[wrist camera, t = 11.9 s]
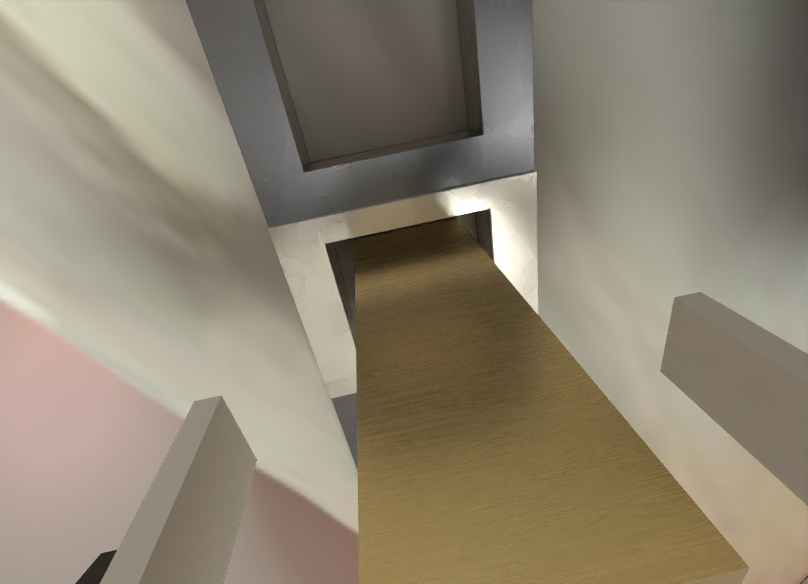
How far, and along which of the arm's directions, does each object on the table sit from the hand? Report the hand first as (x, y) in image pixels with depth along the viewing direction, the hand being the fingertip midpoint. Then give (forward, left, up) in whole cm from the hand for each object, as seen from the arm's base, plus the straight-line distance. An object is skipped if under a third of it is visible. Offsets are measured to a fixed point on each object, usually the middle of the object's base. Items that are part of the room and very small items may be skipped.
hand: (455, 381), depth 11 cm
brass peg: (0, 0, -7) cm, 7 cm away
